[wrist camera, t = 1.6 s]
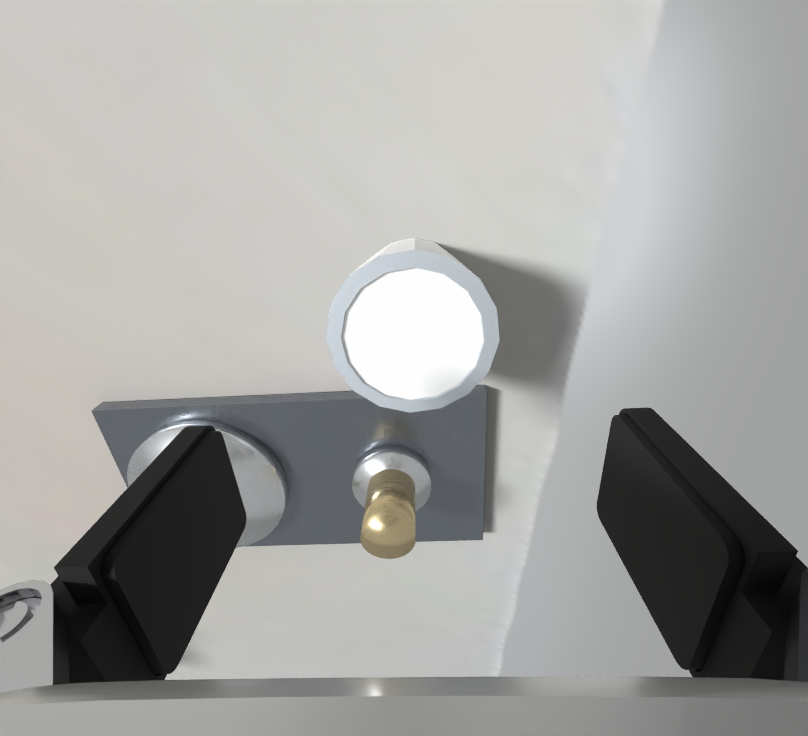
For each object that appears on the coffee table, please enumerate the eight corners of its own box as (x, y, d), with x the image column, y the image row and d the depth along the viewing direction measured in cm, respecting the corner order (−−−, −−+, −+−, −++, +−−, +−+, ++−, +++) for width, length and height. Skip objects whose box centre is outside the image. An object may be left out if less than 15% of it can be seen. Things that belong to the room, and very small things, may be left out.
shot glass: (491, 325, 23) (520, 384, 17) (379, 364, 24) (367, 433, 18) (452, 203, 20) (470, 219, 14) (328, 254, 21) (293, 290, 15)
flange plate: (102, 402, 26) (20, 463, 20) (484, 384, 25) (503, 445, 19) (163, 537, 31) (111, 615, 26) (480, 528, 30) (495, 607, 25)
